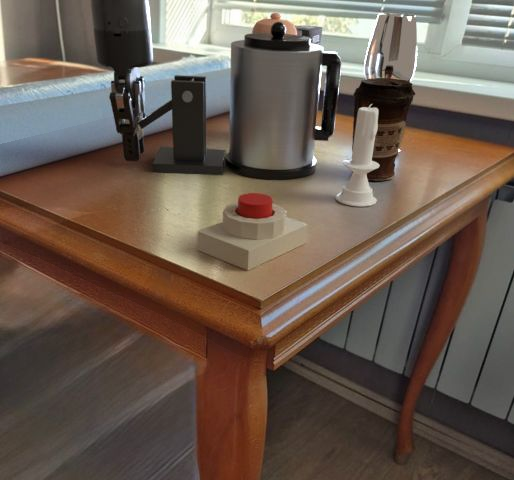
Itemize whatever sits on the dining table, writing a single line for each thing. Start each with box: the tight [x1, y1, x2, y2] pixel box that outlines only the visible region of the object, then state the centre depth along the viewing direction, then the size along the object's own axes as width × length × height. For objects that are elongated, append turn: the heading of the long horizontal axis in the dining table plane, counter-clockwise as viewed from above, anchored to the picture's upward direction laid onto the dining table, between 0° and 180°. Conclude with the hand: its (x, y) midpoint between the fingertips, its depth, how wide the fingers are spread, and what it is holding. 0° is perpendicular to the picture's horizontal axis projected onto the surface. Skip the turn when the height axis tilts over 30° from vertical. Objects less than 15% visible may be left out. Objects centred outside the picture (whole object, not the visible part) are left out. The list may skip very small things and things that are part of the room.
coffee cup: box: [350, 78, 416, 181], centre depth 86 cm, size 9×8×13 cm
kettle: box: [225, 22, 342, 181], centre depth 86 cm, size 16×14×19 cm
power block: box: [197, 201, 309, 272], centre depth 65 cm, size 10×7×4 cm
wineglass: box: [363, 12, 418, 155], centre depth 96 cm, size 8×8×20 cm
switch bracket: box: [151, 74, 226, 176], centre depth 87 cm, size 10×9×12 cm
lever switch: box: [124, 78, 195, 140], centre depth 86 cm, size 13×3×3 cm
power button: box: [237, 192, 274, 219], centre depth 63 cm, size 4×4×2 cm
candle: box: [335, 104, 380, 208], centre depth 77 cm, size 5×5×12 cm
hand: (134, 156), depth 90 cm, fingers closed on lever switch, 3 cm apart
